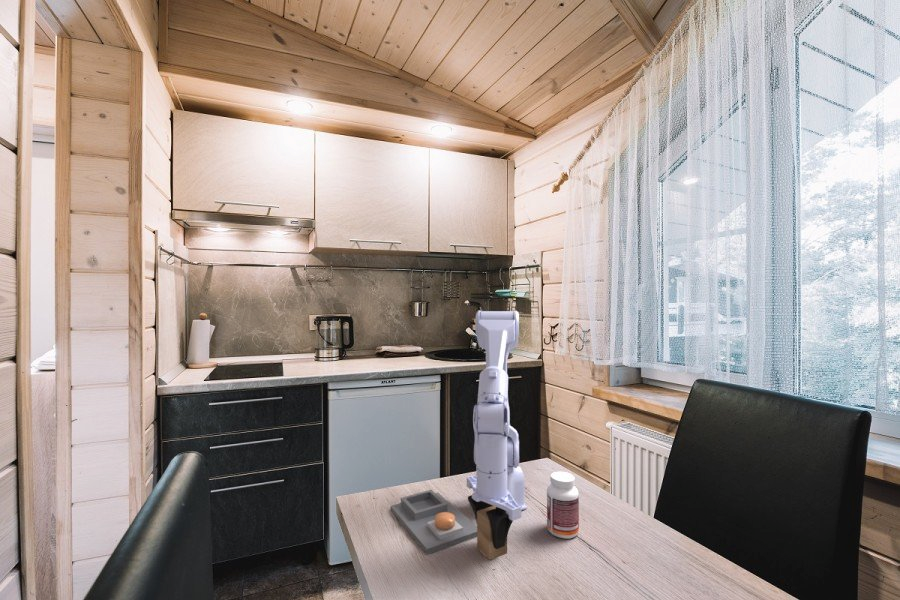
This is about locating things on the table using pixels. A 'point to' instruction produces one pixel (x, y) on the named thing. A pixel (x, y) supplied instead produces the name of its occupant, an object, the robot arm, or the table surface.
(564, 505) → the pill bottle
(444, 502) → the loading station
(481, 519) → the block
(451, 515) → the button
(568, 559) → the table surface
